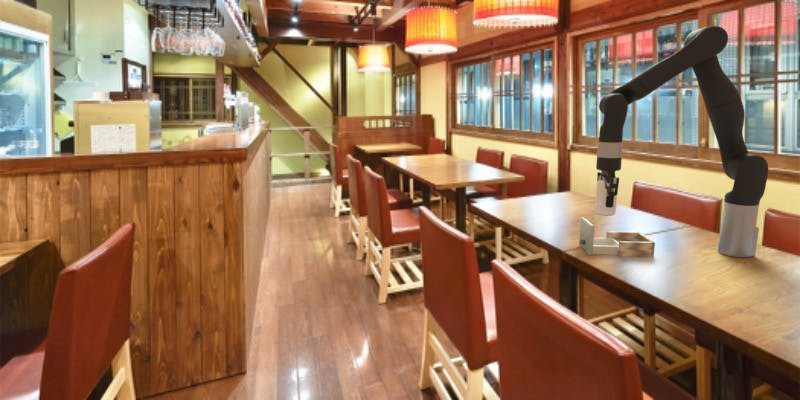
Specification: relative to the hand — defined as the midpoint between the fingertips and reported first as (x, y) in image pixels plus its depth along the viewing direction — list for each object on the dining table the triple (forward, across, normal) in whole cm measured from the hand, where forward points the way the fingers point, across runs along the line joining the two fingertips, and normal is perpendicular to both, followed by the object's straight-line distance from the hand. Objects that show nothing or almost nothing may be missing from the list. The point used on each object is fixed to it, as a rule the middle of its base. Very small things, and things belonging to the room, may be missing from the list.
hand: (605, 204), depth 154 cm
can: (+3, 0, 0) cm, 3 cm away
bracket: (+16, 0, +1) cm, 16 cm away
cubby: (+16, 0, -8) cm, 18 cm away
